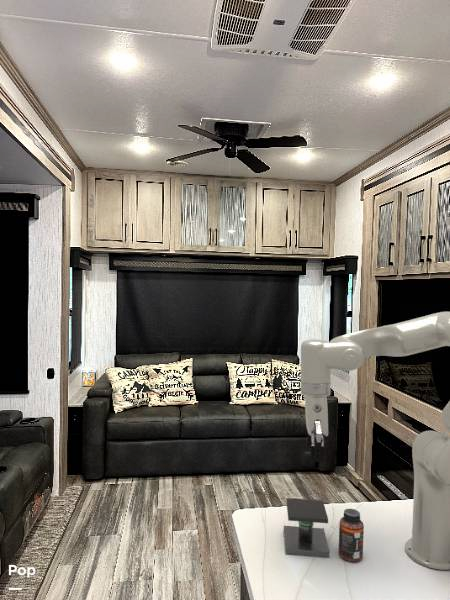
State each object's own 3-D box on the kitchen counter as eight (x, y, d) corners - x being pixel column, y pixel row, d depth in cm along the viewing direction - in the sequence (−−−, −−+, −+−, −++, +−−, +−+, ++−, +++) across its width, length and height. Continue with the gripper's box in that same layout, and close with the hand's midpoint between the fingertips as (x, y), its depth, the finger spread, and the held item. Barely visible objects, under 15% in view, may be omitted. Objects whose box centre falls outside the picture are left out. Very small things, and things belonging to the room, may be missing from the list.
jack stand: (323, 533, 122) (324, 499, 122) (329, 557, 112) (330, 520, 111) (283, 530, 123) (284, 497, 123) (285, 554, 112) (286, 517, 112)
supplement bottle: (363, 564, 109) (365, 519, 109) (339, 561, 110) (340, 516, 110) (361, 550, 115) (362, 507, 115) (337, 547, 116) (339, 505, 116)
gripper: (335, 396, 105) (335, 468, 105) (325, 381, 122) (325, 443, 122) (303, 396, 105) (303, 467, 106) (298, 380, 122) (298, 442, 123)
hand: (315, 454), depth 114 cm, fingers open, 9 cm apart
